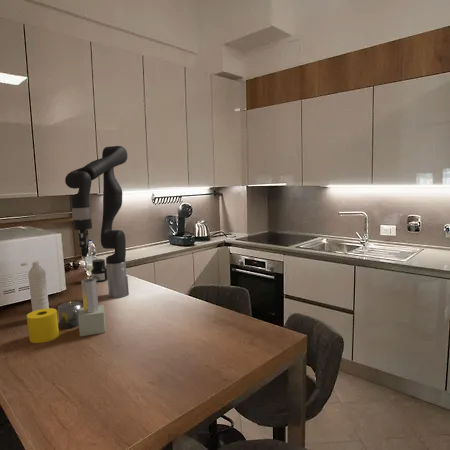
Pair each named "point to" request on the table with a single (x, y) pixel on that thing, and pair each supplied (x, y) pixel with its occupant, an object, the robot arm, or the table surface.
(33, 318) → the yellow toilet paper roll
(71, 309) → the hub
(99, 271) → the ink bottle
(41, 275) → the water bottle
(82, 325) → the sage stand
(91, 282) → the sleeve
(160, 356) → the table surface
